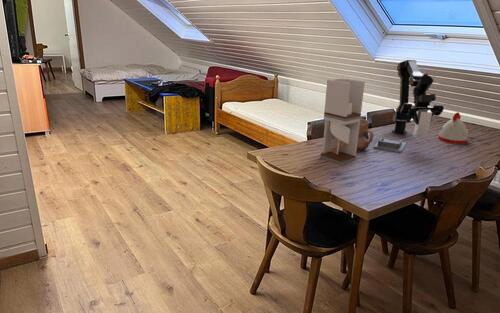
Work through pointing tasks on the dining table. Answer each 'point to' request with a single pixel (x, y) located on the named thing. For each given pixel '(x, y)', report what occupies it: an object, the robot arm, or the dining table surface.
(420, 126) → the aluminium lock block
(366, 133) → the door stopper
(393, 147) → the coupler cradle
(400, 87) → the robot arm
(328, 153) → the display case
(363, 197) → the dining table surface
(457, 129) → the cream and red dome
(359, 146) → the ceramic jug
